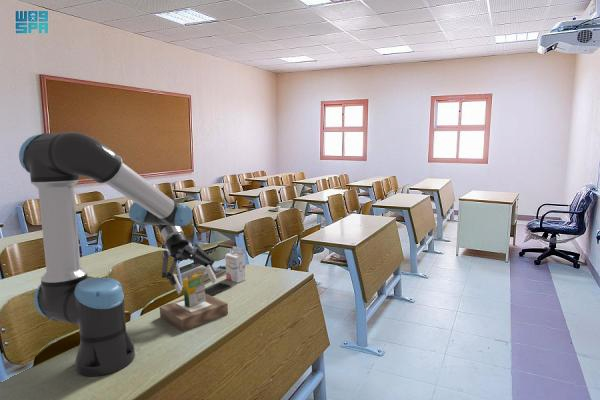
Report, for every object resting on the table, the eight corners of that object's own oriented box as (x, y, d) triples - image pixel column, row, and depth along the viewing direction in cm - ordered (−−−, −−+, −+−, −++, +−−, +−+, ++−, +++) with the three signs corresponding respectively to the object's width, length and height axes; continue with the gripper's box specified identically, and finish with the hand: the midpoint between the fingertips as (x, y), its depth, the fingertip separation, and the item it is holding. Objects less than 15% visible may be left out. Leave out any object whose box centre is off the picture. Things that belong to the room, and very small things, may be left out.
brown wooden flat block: (182, 331, 130) (181, 318, 129) (160, 317, 141) (159, 305, 140) (228, 314, 142) (227, 302, 142) (204, 302, 153) (203, 291, 153)
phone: (192, 293, 161) (219, 282, 174) (193, 296, 162) (219, 285, 174) (206, 297, 157) (232, 285, 169) (206, 299, 157) (232, 288, 169)
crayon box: (200, 299, 145) (198, 268, 144) (205, 300, 144) (204, 270, 142) (184, 305, 140) (181, 274, 138) (189, 307, 138) (187, 275, 136)
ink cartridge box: (225, 279, 180) (223, 247, 178) (234, 276, 184) (232, 245, 182) (237, 283, 175) (235, 250, 173) (246, 280, 178) (244, 248, 176)
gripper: (201, 238, 159) (224, 282, 150) (139, 251, 141) (161, 302, 133) (207, 227, 154) (231, 272, 146) (144, 238, 137) (167, 290, 128)
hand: (198, 286), depth 139 cm, fingers open, 13 cm apart
